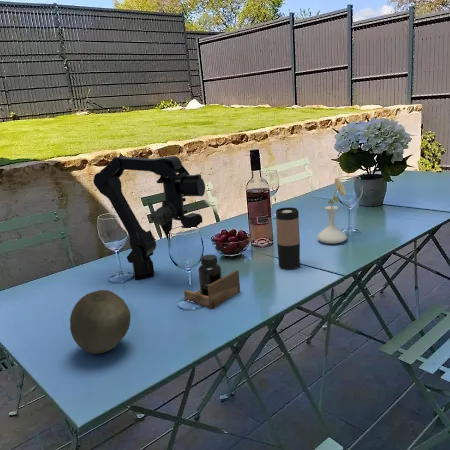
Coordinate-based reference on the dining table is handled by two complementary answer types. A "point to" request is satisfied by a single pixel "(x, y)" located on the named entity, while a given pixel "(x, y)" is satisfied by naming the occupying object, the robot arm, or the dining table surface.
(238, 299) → the dining table surface
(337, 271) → the dining table surface
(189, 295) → the holder
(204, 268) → the supplement bottle
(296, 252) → the travel mug
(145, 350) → the dining table surface
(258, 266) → the dining table surface
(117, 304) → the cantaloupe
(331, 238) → the flower in vase
